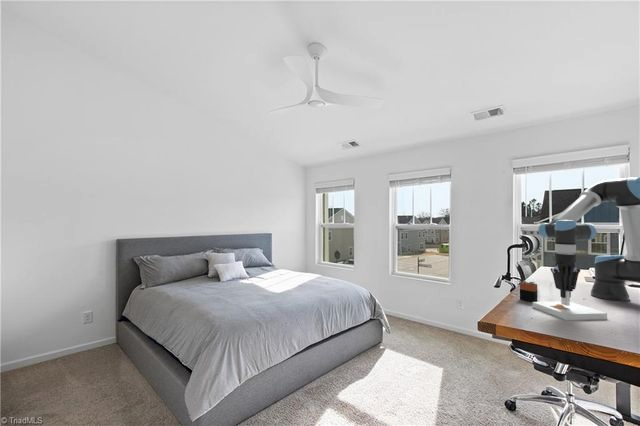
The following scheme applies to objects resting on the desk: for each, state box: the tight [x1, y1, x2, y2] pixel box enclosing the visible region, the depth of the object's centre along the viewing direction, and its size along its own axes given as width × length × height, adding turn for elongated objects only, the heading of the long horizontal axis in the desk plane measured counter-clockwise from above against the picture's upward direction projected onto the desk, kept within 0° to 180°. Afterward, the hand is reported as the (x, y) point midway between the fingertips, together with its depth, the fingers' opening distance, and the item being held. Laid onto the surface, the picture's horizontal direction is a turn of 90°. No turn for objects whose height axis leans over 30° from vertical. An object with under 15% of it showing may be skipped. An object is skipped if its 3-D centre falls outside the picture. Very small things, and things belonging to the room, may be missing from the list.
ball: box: [554, 304, 565, 310], centre depth 135 cm, size 4×4×4 cm
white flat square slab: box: [532, 301, 608, 321], centre depth 136 cm, size 19×18×2 cm
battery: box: [519, 280, 538, 303], centre depth 156 cm, size 4×7×10 cm, turn 35°
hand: (565, 304), depth 136 cm, fingers closed
